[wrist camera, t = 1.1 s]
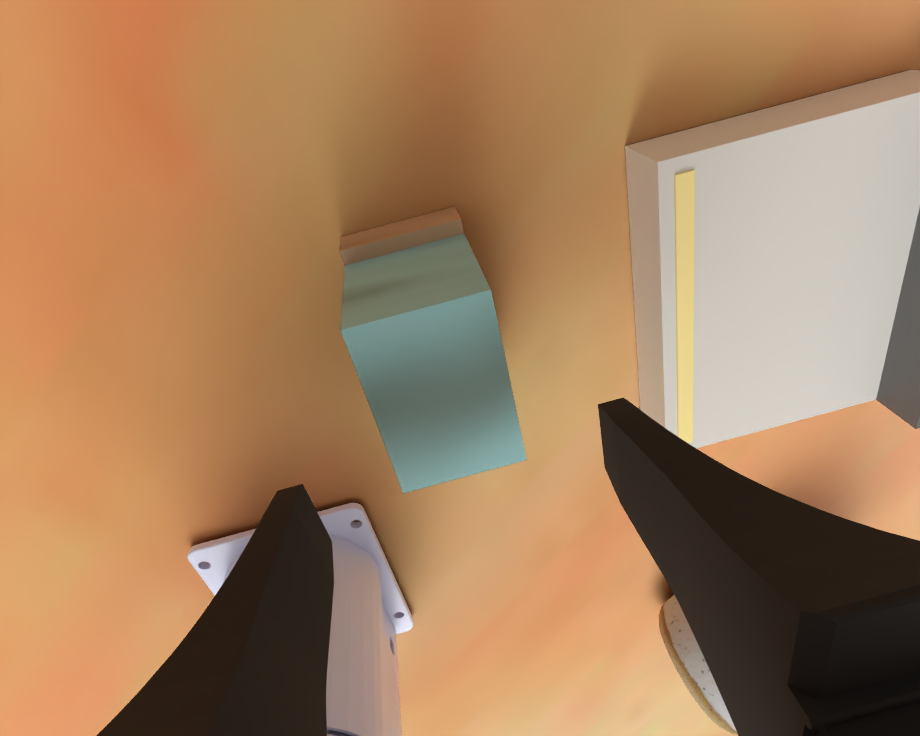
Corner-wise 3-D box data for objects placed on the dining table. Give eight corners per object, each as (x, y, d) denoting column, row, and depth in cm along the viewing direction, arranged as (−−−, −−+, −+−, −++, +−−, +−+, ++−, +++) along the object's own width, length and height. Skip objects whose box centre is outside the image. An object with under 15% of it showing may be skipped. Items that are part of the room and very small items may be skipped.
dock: (855, 362, 26) (940, 422, 22) (640, 420, 26) (689, 490, 22) (911, 69, 19) (1046, 83, 15) (624, 146, 19) (690, 178, 15)
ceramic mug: (629, 589, 32) (698, 734, 26) (755, 507, 30) (864, 643, 24) (714, 651, 37) (788, 785, 31) (827, 584, 35) (932, 713, 29)
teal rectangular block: (492, 372, 23) (529, 471, 18) (397, 398, 23) (407, 504, 18) (454, 205, 19) (487, 272, 14) (340, 235, 19) (333, 313, 14)
